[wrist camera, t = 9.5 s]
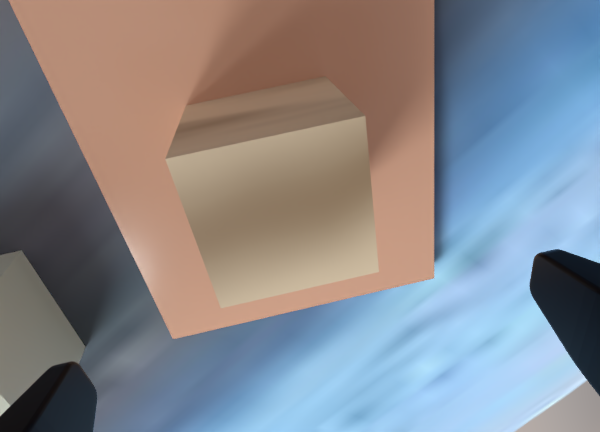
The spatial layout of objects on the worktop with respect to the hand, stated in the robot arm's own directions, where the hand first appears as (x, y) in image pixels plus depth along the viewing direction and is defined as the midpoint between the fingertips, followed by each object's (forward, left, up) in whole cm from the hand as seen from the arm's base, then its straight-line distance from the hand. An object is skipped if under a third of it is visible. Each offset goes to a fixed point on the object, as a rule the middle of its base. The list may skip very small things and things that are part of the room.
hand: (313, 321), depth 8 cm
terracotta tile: (0, 0, -10) cm, 10 cm away
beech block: (0, 0, -9) cm, 9 cm away
